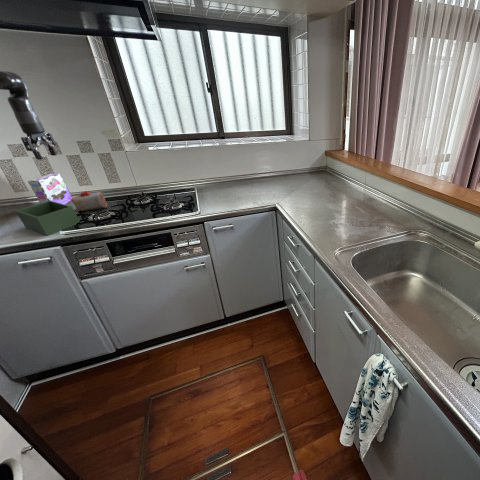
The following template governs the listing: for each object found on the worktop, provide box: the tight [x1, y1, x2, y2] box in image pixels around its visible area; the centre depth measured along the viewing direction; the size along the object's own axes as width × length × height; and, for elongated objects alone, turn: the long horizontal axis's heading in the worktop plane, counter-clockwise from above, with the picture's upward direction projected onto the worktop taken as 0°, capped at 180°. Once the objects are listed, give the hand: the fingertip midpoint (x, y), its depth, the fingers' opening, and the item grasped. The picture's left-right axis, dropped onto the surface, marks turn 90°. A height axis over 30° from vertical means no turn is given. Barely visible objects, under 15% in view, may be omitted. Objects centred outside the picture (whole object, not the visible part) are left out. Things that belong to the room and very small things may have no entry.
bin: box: [14, 201, 81, 237], centre depth 128 cm, size 20×14×9 cm
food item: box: [71, 190, 108, 213], centre depth 145 cm, size 14×8×10 cm, turn 115°
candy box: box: [27, 173, 73, 205], centre depth 149 cm, size 14×6×16 cm, turn 179°
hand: (47, 157), depth 132 cm, fingers open, 8 cm apart
